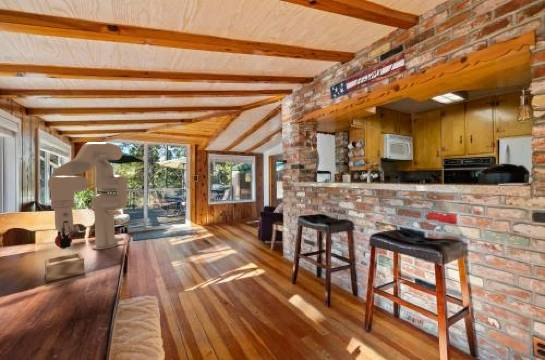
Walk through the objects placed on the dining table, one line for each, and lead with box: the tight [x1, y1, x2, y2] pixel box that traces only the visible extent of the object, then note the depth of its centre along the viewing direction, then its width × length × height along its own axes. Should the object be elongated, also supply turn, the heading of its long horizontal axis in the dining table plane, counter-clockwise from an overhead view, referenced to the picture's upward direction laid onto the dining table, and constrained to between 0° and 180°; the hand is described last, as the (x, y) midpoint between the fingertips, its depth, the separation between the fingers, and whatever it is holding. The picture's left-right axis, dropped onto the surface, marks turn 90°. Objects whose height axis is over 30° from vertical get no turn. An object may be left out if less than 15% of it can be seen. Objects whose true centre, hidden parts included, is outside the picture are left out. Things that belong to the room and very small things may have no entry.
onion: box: [54, 233, 73, 250], centre depth 106 cm, size 6×6×8 cm
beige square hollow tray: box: [44, 252, 85, 282], centre depth 106 cm, size 12×12×6 cm
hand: (63, 245), depth 106 cm, fingers closed on onion, 5 cm apart
